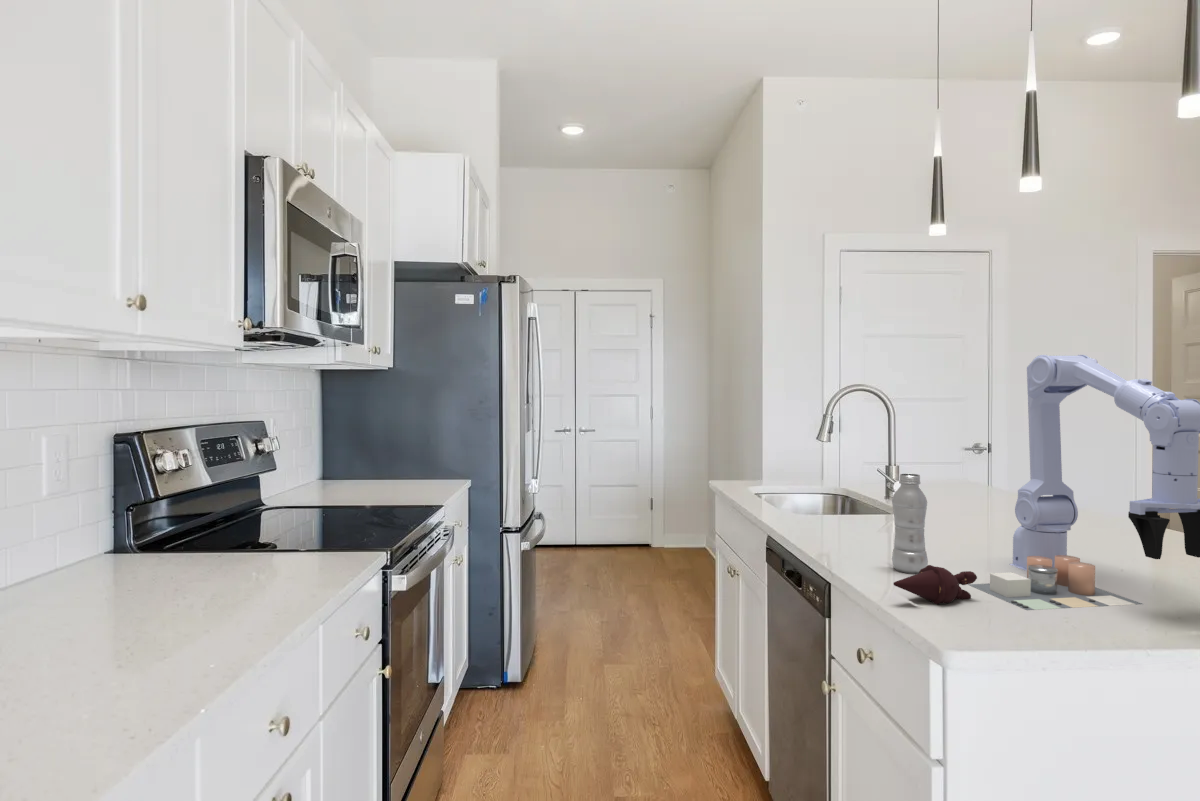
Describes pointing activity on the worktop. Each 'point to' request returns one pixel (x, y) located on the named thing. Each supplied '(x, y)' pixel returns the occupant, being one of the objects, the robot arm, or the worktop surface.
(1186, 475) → the robot arm
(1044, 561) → the tan rounded block
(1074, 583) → the tan rounded cylinder
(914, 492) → the plastic bottle
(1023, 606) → the board
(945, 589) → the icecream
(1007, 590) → the white block
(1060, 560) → the tan rounded block
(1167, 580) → the worktop surface
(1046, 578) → the tin
